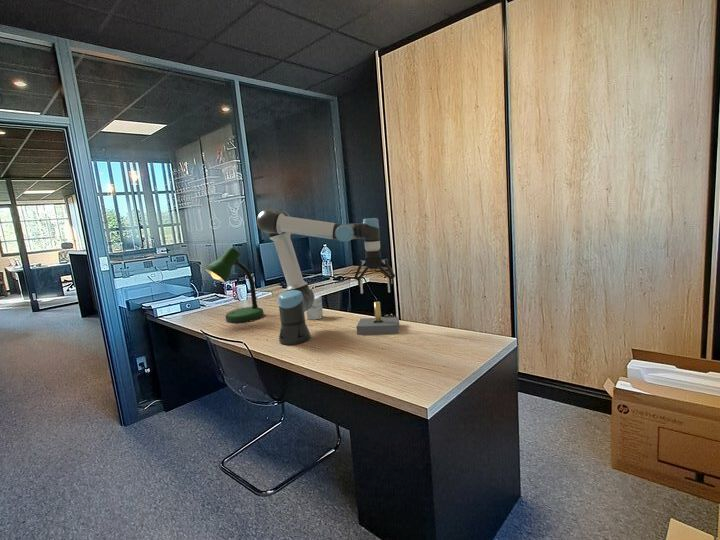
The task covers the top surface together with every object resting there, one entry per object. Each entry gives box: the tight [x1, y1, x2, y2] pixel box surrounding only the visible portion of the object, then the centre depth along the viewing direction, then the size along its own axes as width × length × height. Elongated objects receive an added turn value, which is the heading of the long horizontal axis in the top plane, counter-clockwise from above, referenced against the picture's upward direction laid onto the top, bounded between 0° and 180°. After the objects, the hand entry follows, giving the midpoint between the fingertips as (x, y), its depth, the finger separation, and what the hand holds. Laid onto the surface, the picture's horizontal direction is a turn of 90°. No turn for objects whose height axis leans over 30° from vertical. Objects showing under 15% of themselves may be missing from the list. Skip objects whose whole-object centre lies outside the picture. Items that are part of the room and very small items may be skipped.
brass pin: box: [373, 301, 382, 323], centre depth 187 cm, size 3×3×14 cm
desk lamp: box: [204, 246, 265, 324], centre depth 228 cm, size 31×23×45 cm
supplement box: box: [305, 295, 324, 320], centre depth 219 cm, size 7×7×13 cm
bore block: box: [356, 316, 400, 335], centre depth 188 cm, size 14×20×4 cm
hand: (375, 292), depth 185 cm, fingers open, 13 cm apart
